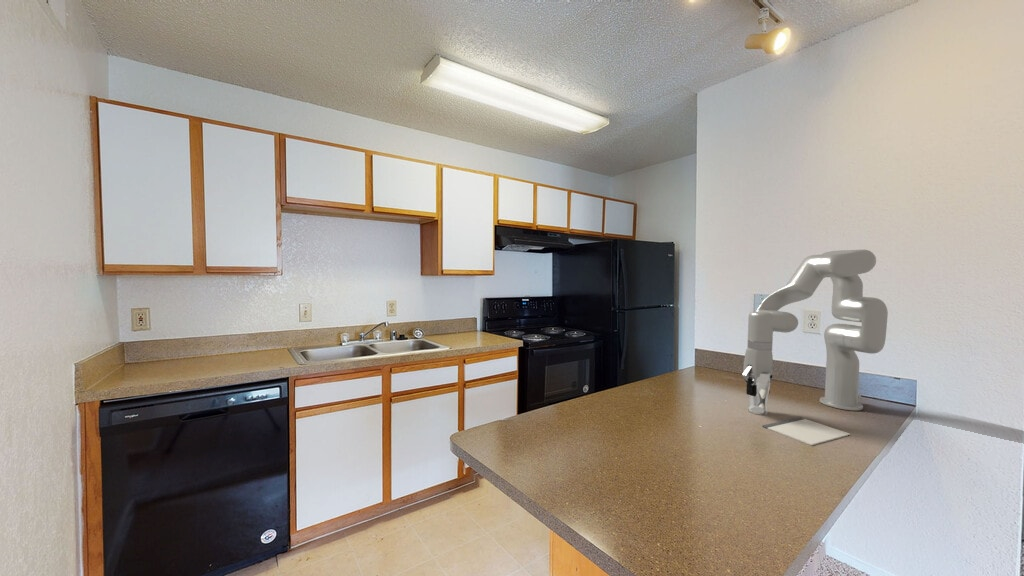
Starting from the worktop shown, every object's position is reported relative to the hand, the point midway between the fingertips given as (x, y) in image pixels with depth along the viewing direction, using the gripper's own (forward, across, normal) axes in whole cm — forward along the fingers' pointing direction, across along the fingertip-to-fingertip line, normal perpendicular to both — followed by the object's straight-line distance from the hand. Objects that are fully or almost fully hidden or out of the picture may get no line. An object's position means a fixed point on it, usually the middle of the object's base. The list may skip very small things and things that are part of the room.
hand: (757, 393), depth 135 cm
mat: (+7, +2, +17) cm, 18 cm away
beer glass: (+7, 0, 0) cm, 7 cm away
